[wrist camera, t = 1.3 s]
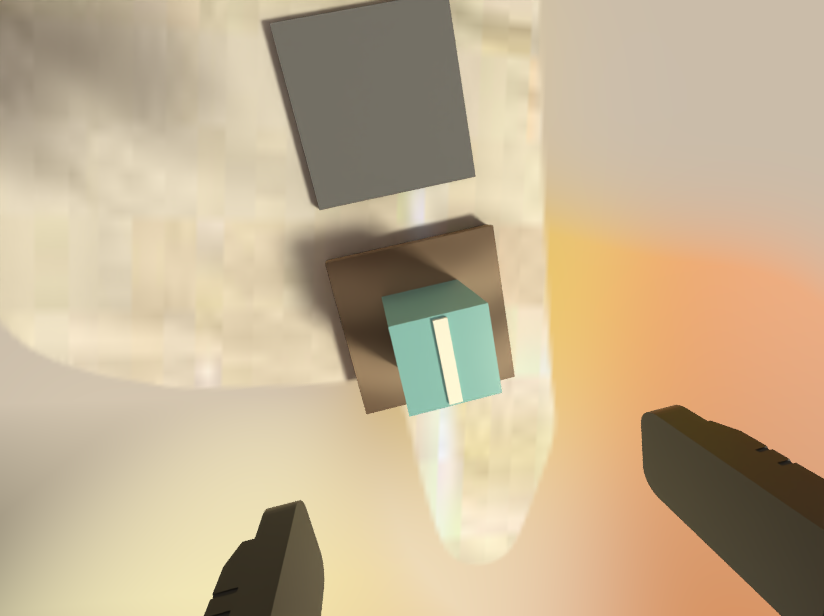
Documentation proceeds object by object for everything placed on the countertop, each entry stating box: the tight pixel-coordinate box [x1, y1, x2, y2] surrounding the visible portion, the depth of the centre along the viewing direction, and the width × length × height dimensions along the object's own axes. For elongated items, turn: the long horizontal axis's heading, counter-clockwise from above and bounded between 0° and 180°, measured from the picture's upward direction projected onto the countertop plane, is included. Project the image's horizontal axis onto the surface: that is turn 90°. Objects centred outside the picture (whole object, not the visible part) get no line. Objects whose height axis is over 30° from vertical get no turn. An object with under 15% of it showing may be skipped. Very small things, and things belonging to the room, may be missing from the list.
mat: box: [270, 0, 475, 210], centre depth 25 cm, size 11×11×1 cm
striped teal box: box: [382, 279, 502, 416], centre depth 25 cm, size 6×6×7 cm
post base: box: [325, 225, 515, 414], centre depth 26 cm, size 12×12×7 cm
